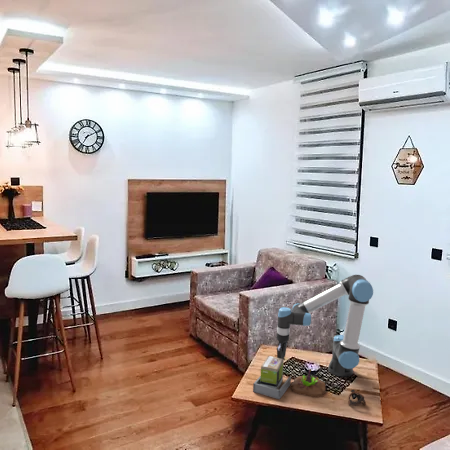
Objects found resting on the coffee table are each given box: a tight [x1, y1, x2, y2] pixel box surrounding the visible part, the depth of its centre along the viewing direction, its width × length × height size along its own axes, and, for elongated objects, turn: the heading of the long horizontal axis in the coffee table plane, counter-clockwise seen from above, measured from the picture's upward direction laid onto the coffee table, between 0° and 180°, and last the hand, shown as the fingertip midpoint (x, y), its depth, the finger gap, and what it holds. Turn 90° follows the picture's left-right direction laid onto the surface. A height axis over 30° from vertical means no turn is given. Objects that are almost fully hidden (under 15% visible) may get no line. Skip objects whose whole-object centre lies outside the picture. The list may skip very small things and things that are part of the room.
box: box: [252, 375, 292, 400], centre depth 266 cm, size 16×19×5 cm
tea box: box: [260, 355, 284, 390], centre depth 268 cm, size 15×10×15 cm
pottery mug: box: [347, 389, 367, 407], centre depth 253 cm, size 12×10×8 cm
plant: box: [290, 368, 326, 398], centre depth 268 cm, size 20×20×11 cm
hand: (280, 370), depth 279 cm, fingers closed
